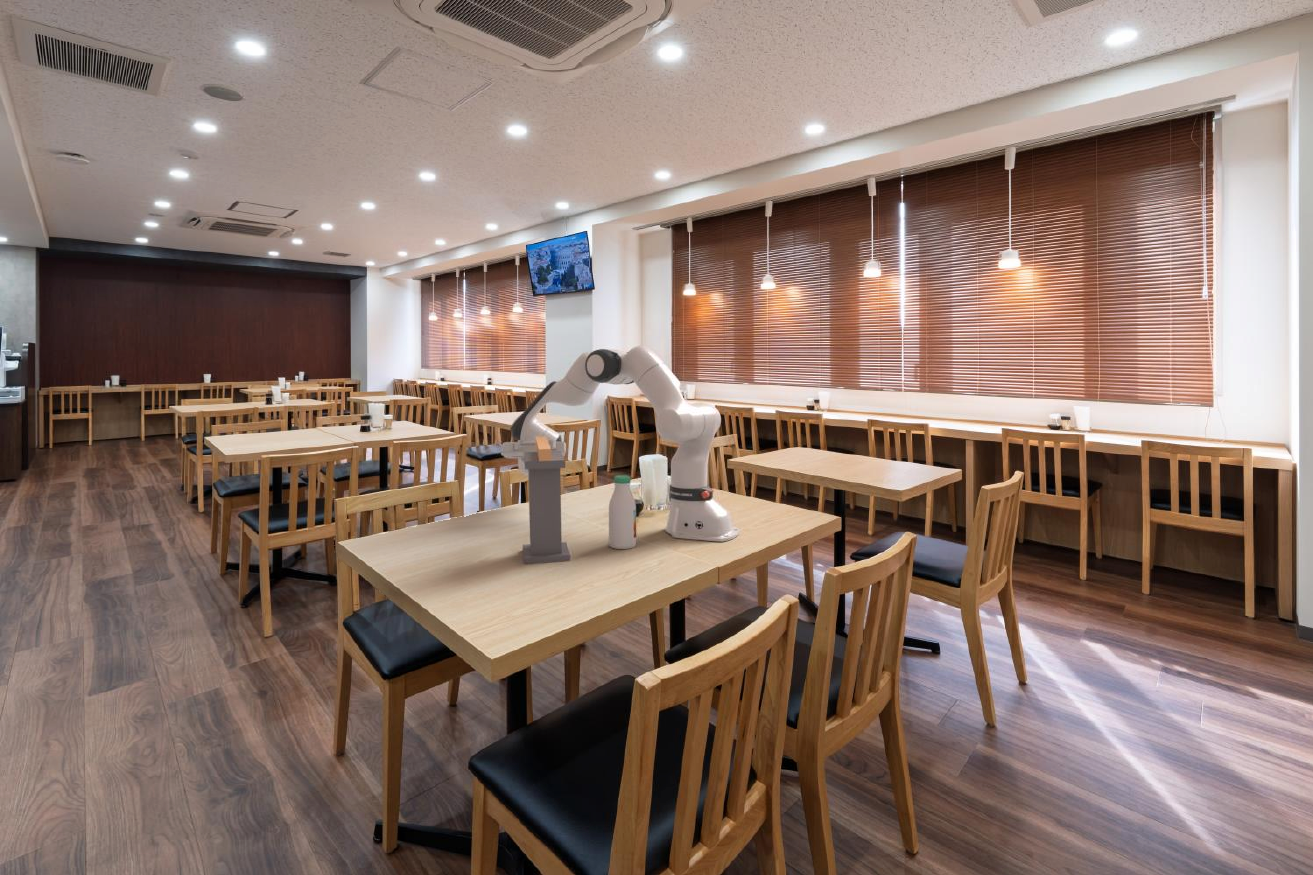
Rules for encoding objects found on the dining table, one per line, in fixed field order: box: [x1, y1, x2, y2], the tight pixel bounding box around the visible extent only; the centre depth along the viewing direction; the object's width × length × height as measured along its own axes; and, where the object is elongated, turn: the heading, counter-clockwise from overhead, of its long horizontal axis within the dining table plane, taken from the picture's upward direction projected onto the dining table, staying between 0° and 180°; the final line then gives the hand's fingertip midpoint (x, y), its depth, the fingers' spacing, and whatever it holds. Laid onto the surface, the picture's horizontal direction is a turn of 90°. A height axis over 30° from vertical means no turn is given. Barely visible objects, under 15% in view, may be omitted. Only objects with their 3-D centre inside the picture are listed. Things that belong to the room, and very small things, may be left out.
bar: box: [535, 436, 551, 461], centre depth 173 cm, size 26×3×3 cm, turn 13°
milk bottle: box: [608, 474, 637, 550], centre depth 179 cm, size 8×8×20 cm
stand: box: [522, 451, 571, 564], centre depth 170 cm, size 16×12×27 cm
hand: (535, 442), depth 200 cm, fingers open, 8 cm apart
